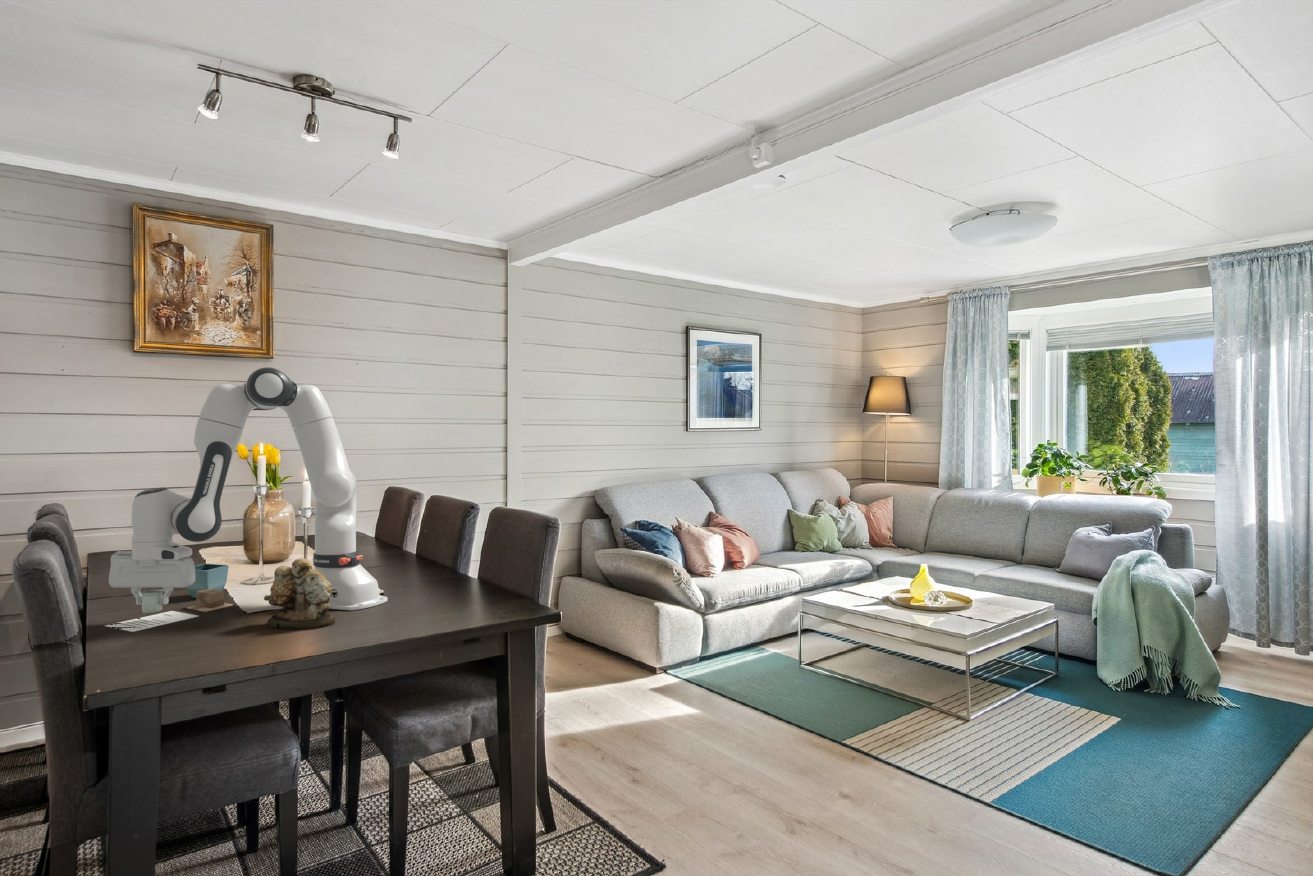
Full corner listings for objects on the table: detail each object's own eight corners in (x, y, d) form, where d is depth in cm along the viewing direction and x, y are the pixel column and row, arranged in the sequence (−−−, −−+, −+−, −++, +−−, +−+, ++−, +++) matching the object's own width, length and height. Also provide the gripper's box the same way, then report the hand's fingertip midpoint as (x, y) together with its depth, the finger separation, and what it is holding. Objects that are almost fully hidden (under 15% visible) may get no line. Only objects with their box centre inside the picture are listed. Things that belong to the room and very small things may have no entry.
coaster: (233, 606, 214) (233, 604, 214) (205, 612, 207) (205, 610, 207) (214, 603, 218) (214, 601, 218) (187, 609, 210) (187, 607, 210)
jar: (165, 610, 197) (165, 591, 197) (144, 613, 194) (144, 594, 194) (159, 607, 200) (159, 588, 200) (139, 610, 197) (139, 591, 197)
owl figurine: (252, 629, 191) (252, 562, 191) (278, 618, 203) (277, 554, 202) (322, 630, 190) (322, 562, 190) (344, 618, 202) (343, 554, 202)
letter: (199, 617, 202) (199, 615, 202) (132, 633, 187) (132, 631, 187) (172, 611, 208) (172, 610, 208) (104, 626, 192) (104, 625, 192)
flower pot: (207, 601, 220) (206, 570, 220) (181, 599, 222) (180, 568, 222) (229, 594, 229) (229, 564, 229) (204, 592, 231) (204, 563, 230)
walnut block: (224, 605, 213) (223, 591, 213) (210, 608, 209) (210, 594, 209) (210, 603, 215) (210, 588, 215) (196, 606, 212) (196, 591, 212)
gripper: (102, 553, 193) (102, 607, 194) (184, 553, 194) (184, 607, 195) (119, 548, 200) (119, 601, 200) (198, 549, 201) (198, 601, 201)
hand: (152, 604), depth 197 cm, fingers closed on jar, 4 cm apart
